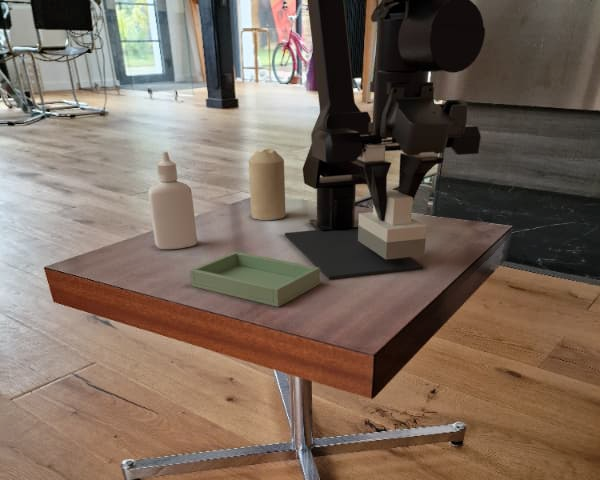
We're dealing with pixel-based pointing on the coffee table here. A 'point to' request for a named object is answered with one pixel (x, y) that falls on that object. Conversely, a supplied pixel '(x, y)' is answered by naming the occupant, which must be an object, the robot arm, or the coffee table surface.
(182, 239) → the eye dropper bottle
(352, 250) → the mat
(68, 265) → the coffee table surface
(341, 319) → the coffee table surface
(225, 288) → the tray
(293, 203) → the coffee table surface
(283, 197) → the candle
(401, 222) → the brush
